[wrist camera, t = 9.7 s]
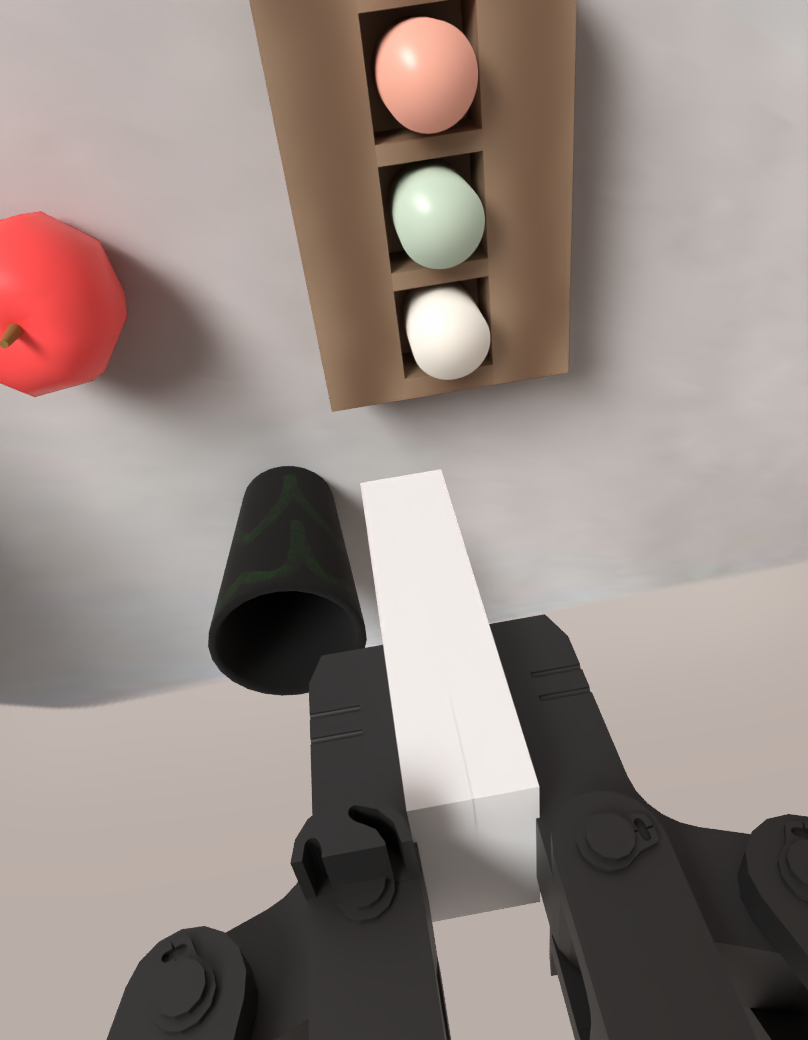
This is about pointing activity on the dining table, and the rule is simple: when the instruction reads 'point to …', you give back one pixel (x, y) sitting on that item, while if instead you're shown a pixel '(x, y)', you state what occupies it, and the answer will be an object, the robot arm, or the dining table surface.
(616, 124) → the dining table surface
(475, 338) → the white egg
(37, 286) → the apple
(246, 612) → the cup
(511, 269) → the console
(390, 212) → the pale green rounded piece
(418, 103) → the coral button
